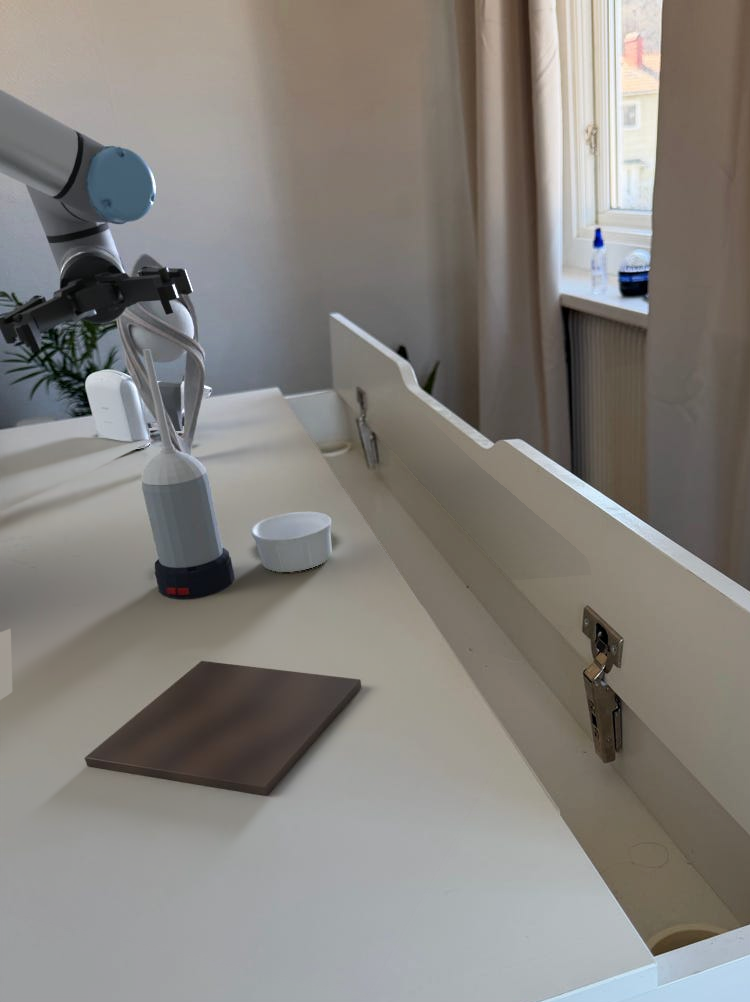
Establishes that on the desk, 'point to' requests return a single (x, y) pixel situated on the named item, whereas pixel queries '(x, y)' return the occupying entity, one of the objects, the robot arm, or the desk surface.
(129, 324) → the sculpture
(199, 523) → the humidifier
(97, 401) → the photo printer
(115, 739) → the mat
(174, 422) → the dark grey angular block
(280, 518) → the ramekin
